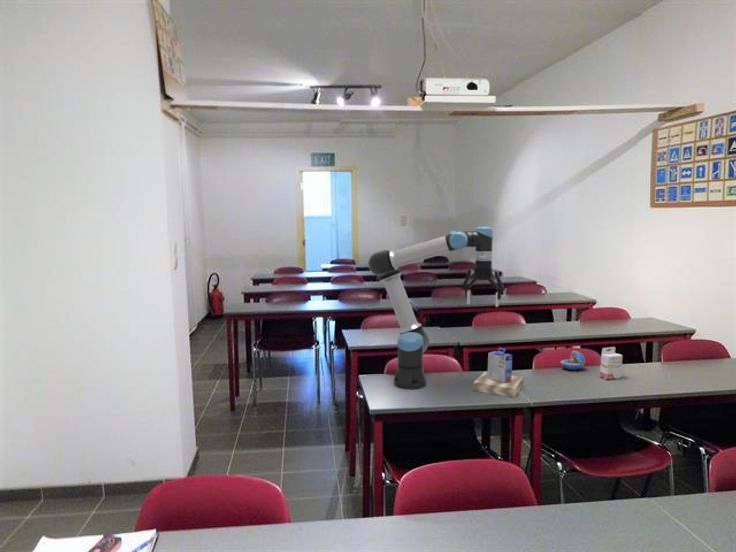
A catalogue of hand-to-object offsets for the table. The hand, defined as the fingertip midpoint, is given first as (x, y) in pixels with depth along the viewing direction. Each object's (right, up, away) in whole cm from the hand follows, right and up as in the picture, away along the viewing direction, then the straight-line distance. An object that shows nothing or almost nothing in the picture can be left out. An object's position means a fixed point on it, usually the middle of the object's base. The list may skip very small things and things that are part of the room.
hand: (482, 305), depth 229 cm
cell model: (+51, -34, +21) cm, 65 cm away
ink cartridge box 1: (+6, -34, -6) cm, 35 cm away
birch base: (+6, -38, -6) cm, 39 cm away
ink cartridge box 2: (+64, -36, +8) cm, 74 cm away
